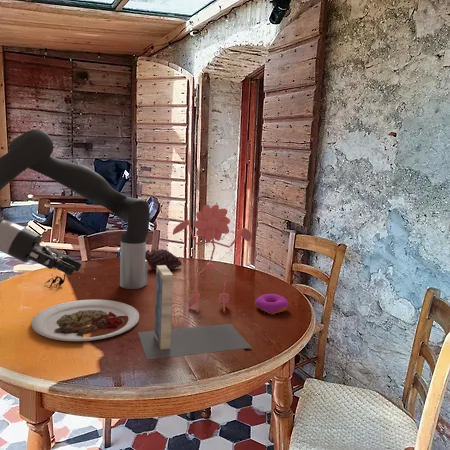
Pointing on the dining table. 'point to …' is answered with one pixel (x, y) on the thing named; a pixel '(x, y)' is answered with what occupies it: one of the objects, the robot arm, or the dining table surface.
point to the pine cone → (162, 259)
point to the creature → (57, 280)
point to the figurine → (212, 229)
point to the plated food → (83, 319)
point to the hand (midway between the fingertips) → (76, 269)
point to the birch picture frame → (163, 306)
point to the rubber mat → (194, 341)
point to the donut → (272, 303)
